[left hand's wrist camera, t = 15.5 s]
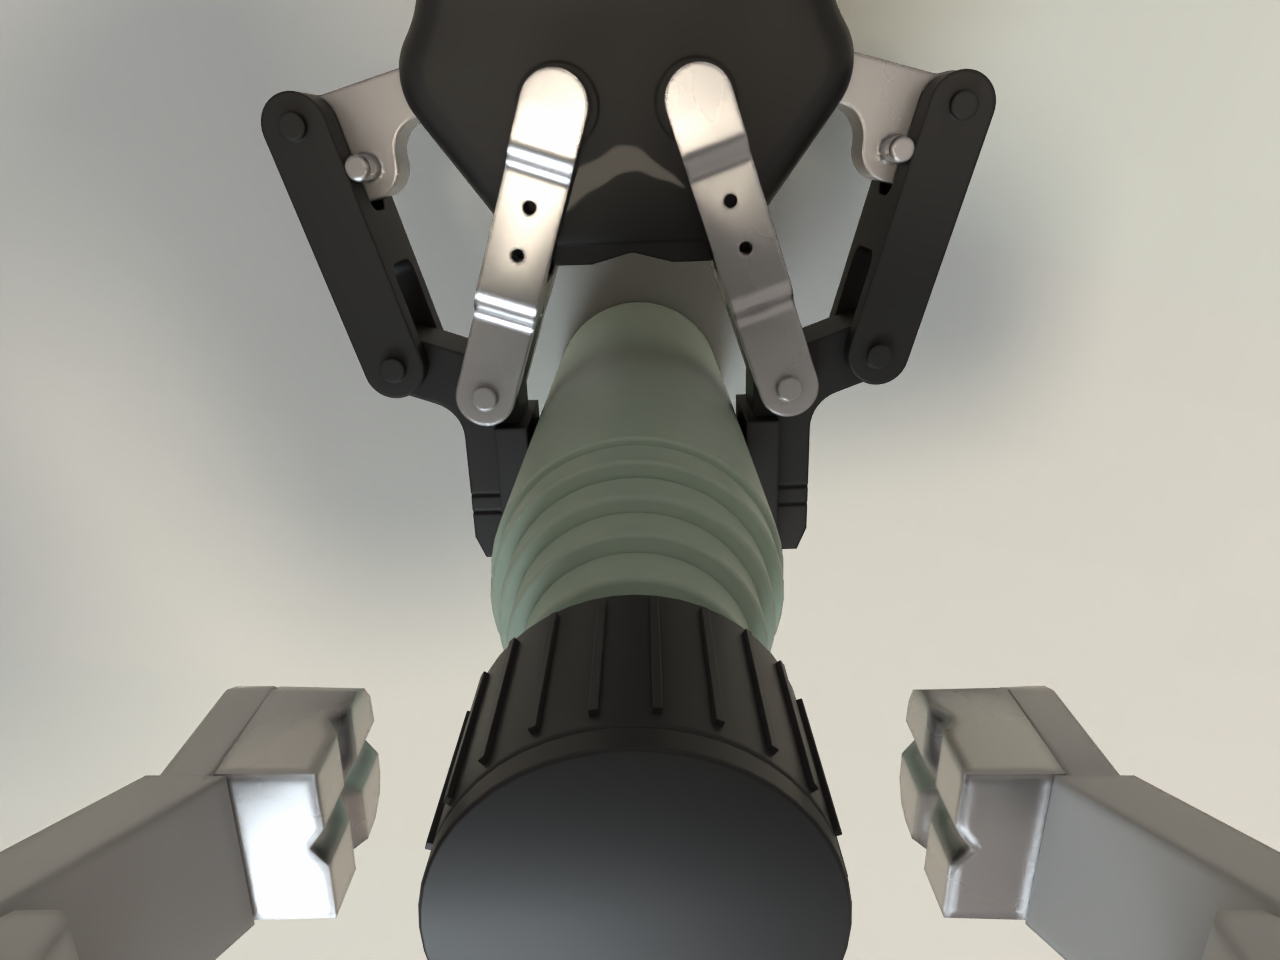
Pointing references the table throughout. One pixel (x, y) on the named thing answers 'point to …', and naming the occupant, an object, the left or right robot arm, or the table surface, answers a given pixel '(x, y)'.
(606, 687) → the cap
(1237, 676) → the table surface
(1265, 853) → the left robot arm
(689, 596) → the bottle
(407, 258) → the right robot arm
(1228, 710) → the table surface
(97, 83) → the table surface
